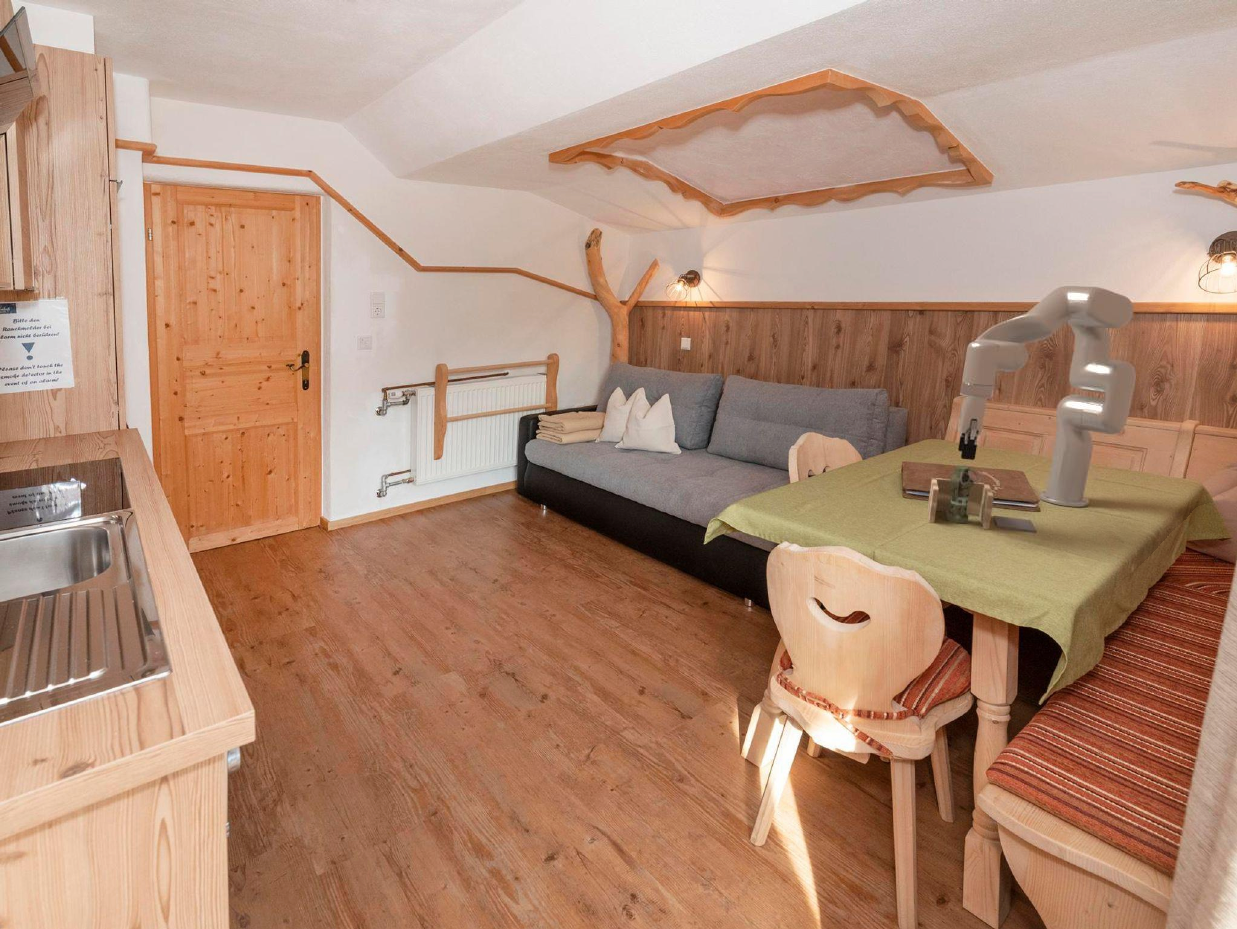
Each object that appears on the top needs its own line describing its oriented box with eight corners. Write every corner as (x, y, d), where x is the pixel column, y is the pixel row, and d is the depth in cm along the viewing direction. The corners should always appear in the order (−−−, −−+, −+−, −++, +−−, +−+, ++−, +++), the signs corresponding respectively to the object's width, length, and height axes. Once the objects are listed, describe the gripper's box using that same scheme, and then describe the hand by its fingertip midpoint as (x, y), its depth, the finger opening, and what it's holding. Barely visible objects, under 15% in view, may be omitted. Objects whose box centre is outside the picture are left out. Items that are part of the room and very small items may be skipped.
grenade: (937, 519, 197) (945, 466, 194) (951, 515, 201) (958, 462, 197) (964, 527, 192) (972, 472, 188) (977, 522, 196) (985, 468, 192)
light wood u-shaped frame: (927, 508, 207) (931, 477, 205) (983, 514, 202) (988, 483, 200) (929, 522, 195) (933, 489, 193) (988, 529, 190) (994, 496, 188)
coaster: (993, 517, 200) (993, 515, 200) (1030, 522, 197) (1030, 520, 197) (997, 527, 192) (997, 525, 192) (1035, 532, 189) (1036, 530, 189)
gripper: (958, 385, 196) (948, 447, 201) (963, 393, 181) (952, 460, 185) (989, 387, 194) (978, 450, 198) (996, 396, 178) (985, 464, 182)
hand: (966, 455), depth 192 cm, fingers open, 9 cm apart
